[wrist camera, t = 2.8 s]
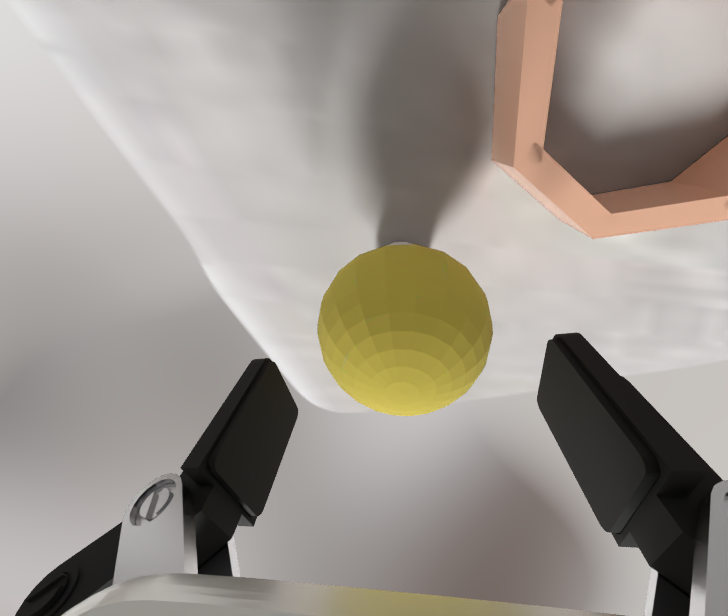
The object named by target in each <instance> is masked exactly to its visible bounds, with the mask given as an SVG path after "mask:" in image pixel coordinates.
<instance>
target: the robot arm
mask: <svg viewBox="0 0 728 616" xmlns="http://www.w3.org/2000/svg"><path fill="white" fill-rule="evenodd" d="M537 402H538V406H539V409H540V411H541V413H542V414H543V416H544V418H545V420H546V422H547V424H548V426H549V428H550V430H551V432H552V434H553V435H554V437H555V439H556V441H557V443H558V445H559V447H560V449H561V451H562V453H563V455H564V456H565V458H566V460H567V462H568V464H569V466H570V468H571V470H572V471H573V474H574V476H575V478H576V479H577V481H578V483H579V485H580V487H581V489H582V491H583V493H584V495H585V497H586V498H587V500H588V502H589V504H590V506H591V508H592V510H593V512H594V514H595V516H596V518H597V519H598V521H599V523H600V525H601V526H602V527H603V529H604V530H605V531H606V532H611V533H612V535H613V537H614V538H615V540H616V542H617V544H618V546H620V547H637V548H639V549H640V550H641V552H642V554H643V556H644V557H645V559H646V561H647V562H648V564H649V566H650V567H651V574H650V580H649V587H648V592H647V598H646V605H645V611H644V616H728V480H726V481H723V480H722V479H721V478H720V477H719V476H718V475H717V474H716V473H715V471H713V469H712V468H711V467H710V466H709V465H708V464H707V463H706V462H705V461H704V460H703V459H702V458H701V457H700V456H699V455H698V454H697V453H696V452H695V451H694V450H693V448H692V447H691V446H690V445H689V444H688V443H687V442H686V441H685V440H684V439H683V438H682V437H681V436H680V435H679V434H678V433H677V432H676V430H675V429H674V428H673V427H672V426H671V425H670V424H669V423H668V422H667V421H666V420H665V419H664V418H663V417H662V416H661V415H660V414H659V413H658V412H657V411H656V409H655V408H654V407H653V406H652V405H651V404H650V403H649V402H648V401H647V400H646V399H645V398H644V397H643V396H642V395H641V394H640V393H639V392H638V391H637V389H635V388H634V386H633V385H632V384H631V383H630V382H629V381H628V380H626V379H625V378H624V377H622V376H620V375H619V374H618V373H617V372H616V371H615V370H614V369H613V368H612V367H611V366H610V365H609V364H608V363H607V361H606V360H605V359H604V358H603V357H602V356H601V355H600V354H599V353H598V352H597V351H596V350H595V349H594V348H593V347H592V345H591V344H590V343H589V342H588V341H587V340H586V339H585V338H584V337H583V336H582V335H581V334H580V333H567V334H557V335H555V336H554V338H553V339H551V340H549V341H548V343H547V348H546V353H545V358H544V363H543V369H542V374H541V379H540V385H539V390H538V396H537ZM297 416H298V408H297V406H296V404H295V402H294V400H293V398H292V396H291V393H290V392H289V389H288V387H287V385H286V383H285V381H284V379H283V377H282V375H281V373H280V371H279V369H278V367H277V365H276V363H275V362H272V361H271V360H270V359H269V358H265V359H254V360H252V361H251V363H250V364H249V366H248V367H247V369H246V370H245V372H244V373H243V375H242V376H241V378H240V379H239V381H238V382H237V384H236V385H235V387H234V388H233V390H232V391H231V393H230V394H229V396H228V397H227V399H226V400H225V402H224V403H223V405H222V406H221V408H220V409H219V411H218V412H217V414H216V415H215V417H214V418H213V420H212V421H211V423H210V424H209V426H208V427H207V429H206V430H205V432H204V433H203V435H202V436H201V438H200V439H199V441H198V442H197V444H196V445H195V447H194V448H193V450H192V451H191V453H190V454H189V456H188V457H187V459H186V460H185V462H184V463H183V465H182V467H181V469H182V470H183V472H182V474H181V475H180V476H178V475H177V474H172V473H170V474H166V475H162V476H160V477H159V478H156V479H155V480H153V481H152V482H150V483H149V484H148V485H146V486H145V487H144V488H143V489H142V490H141V491H140V492H139V493H138V494H137V495H136V497H135V498H134V499H133V500H132V502H131V503H130V505H129V506H128V508H127V510H126V512H125V515H124V518H123V522H121V523H120V524H118V525H117V526H116V527H114V528H113V529H111V530H110V531H108V532H107V533H106V534H104V535H103V536H101V537H100V538H98V539H97V540H95V541H94V542H92V543H91V544H90V545H88V546H87V547H86V548H84V549H82V550H81V551H80V552H78V553H77V554H75V555H74V556H72V557H71V558H69V559H68V560H67V561H65V562H64V563H62V564H61V565H59V566H58V567H57V568H56V569H54V570H53V571H52V572H50V573H49V574H48V575H47V576H46V577H45V578H44V579H43V580H42V581H41V582H40V583H39V584H38V585H37V586H36V587H35V588H34V589H33V590H32V591H31V593H30V594H29V595H28V597H27V598H26V599H25V600H24V602H23V603H22V605H21V607H20V608H19V610H18V611H17V613H16V615H15V616H623V615H615V614H606V613H598V612H590V611H582V610H573V609H564V608H554V607H544V606H534V605H524V604H514V603H504V602H495V601H485V600H474V599H465V598H456V597H445V596H435V595H424V594H415V593H404V592H394V591H383V590H374V589H363V588H353V587H341V586H332V585H321V584H311V583H300V582H289V581H277V580H267V579H255V578H245V577H241V576H240V570H239V564H238V558H237V553H236V547H235V541H234V535H233V534H234V532H235V529H236V527H237V525H239V526H254V524H255V521H256V518H257V516H259V515H260V514H261V513H262V511H263V509H264V507H265V504H266V501H267V498H268V496H269V493H270V490H271V488H272V485H273V482H274V480H275V477H276V474H277V471H278V468H279V466H280V463H281V460H282V458H283V455H284V452H285V449H286V447H287V444H288V441H289V438H290V436H291V433H292V430H293V428H294V425H295V422H296V419H297Z"/></svg>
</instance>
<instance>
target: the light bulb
mask: <svg viewBox="0 0 728 616" xmlns="http://www.w3.org/2000/svg"><path fill="white" fill-rule="evenodd" d="M492 335H493V329H492V321H491V316H490V311H489V306H488V301H487V298H486V295H485V293H484V292H483V290H482V289H481V287H480V286H479V285H478V283H477V282H476V280H475V279H474V277H473V276H472V275H471V273H470V272H469V270H468V269H467V268H466V267H465V266H464V265H462V264H461V263H459V262H458V261H456V260H455V259H453V258H452V257H450V256H449V255H447V254H446V253H444V252H442V251H438V250H435V249H431V248H427V247H424V246H420V245H416V244H412V243H408V242H394V243H391V244H388V245H386V246H383V247H380V248H377V249H375V250H372V251H369V252H366V253H363V254H361V255H359V256H357V257H356V258H355V259H354V260H352V261H351V262H350V263H348V264H347V265H346V266H345V267H343V268H342V269H341V270H340V271H339V272H338V274H337V275H336V277H335V278H334V280H333V282H332V283H331V285H330V287H329V288H328V290H327V291H326V293H325V295H324V296H323V300H322V303H321V309H320V314H319V320H318V337H319V342H320V346H321V351H322V355H323V360H324V362H325V364H326V366H327V368H328V370H329V371H330V373H331V374H332V376H333V377H334V379H335V380H336V382H337V383H338V385H339V386H340V387H341V388H342V389H343V390H344V391H345V392H346V393H348V394H349V395H350V396H351V397H352V398H354V399H355V400H356V401H357V402H359V403H361V404H363V405H365V406H367V407H369V408H371V409H373V410H375V411H378V412H382V413H386V414H390V415H400V416H413V415H421V414H427V413H430V412H433V411H435V410H438V409H441V408H443V407H445V406H447V405H449V404H451V403H452V402H454V401H455V400H456V399H458V398H459V397H461V396H462V395H463V394H465V393H466V392H467V391H468V390H469V389H470V387H471V386H472V385H473V383H474V382H475V380H476V379H477V378H478V376H479V375H480V373H481V372H482V370H483V368H484V366H485V365H486V361H487V357H488V353H489V348H490V344H491V340H492Z"/></svg>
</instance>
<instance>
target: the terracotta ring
mask: <svg viewBox="0 0 728 616" xmlns="http://www.w3.org/2000/svg"><path fill="white" fill-rule="evenodd" d="M562 5H563V0H508V1H507V3H506V4H505V6H504V7H503V9H502V10H501V12H500V13H499V15H498V22H497V44H496V67H495V89H494V112H493V135H492V157H491V160H492V161H493V162H494V163H496V164H497V165H498V166H499V167H500V168H501V169H502V170H504V171H505V172H506V173H507V174H508V175H509V176H510V177H512V178H513V179H514V180H515V181H516V182H517V183H518V184H519V185H521V186H522V187H523V188H524V189H525V190H526V191H527V192H529V193H530V194H531V195H532V196H533V197H534V198H535V199H536V200H538V201H539V202H540V203H541V204H542V205H543V206H544V207H546V208H547V209H548V210H549V211H550V212H551V213H552V214H554V215H555V216H556V217H557V218H558V219H559V220H561V221H562V222H564V223H566V224H568V225H569V226H571V227H573V228H575V229H576V230H578V231H580V232H582V233H584V234H585V235H587V236H589V237H591V238H592V239H596V238H603V237H610V236H617V235H624V234H631V233H638V232H646V231H653V230H660V229H667V228H674V227H681V226H688V225H695V224H702V223H709V222H716V221H723V220H728V136H727V137H726V138H725V139H723V140H722V141H721V142H720V143H718V144H717V145H716V146H715V147H713V148H712V149H711V150H710V151H708V152H707V153H706V154H705V155H703V156H702V157H701V158H699V159H698V160H697V161H696V162H694V163H693V164H692V165H691V166H689V167H688V168H687V169H686V170H684V171H683V172H682V173H681V174H679V175H678V176H677V177H676V178H674V179H673V180H672V181H671V182H665V183H659V184H653V185H647V186H641V187H636V188H630V189H624V190H618V191H612V192H606V193H600V194H594V195H591V194H590V193H589V192H588V191H587V190H586V189H584V188H583V187H582V186H581V185H580V184H579V183H578V182H577V181H576V180H575V179H574V178H573V177H572V176H571V175H570V174H569V173H568V172H567V171H566V170H565V169H563V168H562V167H561V166H560V165H559V164H558V163H557V162H556V161H555V160H554V159H553V158H552V157H551V156H550V155H549V154H548V153H547V152H546V151H545V150H544V149H543V147H544V140H545V132H546V125H547V117H548V110H549V102H550V95H551V87H552V80H553V72H554V65H555V57H556V50H557V42H558V35H559V27H560V20H561V12H562Z"/></svg>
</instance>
